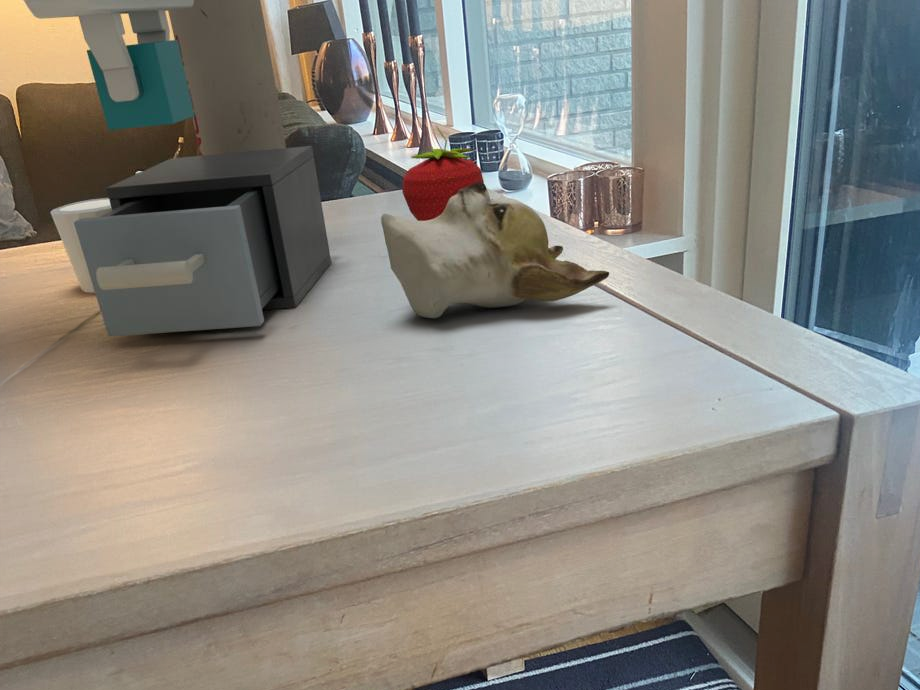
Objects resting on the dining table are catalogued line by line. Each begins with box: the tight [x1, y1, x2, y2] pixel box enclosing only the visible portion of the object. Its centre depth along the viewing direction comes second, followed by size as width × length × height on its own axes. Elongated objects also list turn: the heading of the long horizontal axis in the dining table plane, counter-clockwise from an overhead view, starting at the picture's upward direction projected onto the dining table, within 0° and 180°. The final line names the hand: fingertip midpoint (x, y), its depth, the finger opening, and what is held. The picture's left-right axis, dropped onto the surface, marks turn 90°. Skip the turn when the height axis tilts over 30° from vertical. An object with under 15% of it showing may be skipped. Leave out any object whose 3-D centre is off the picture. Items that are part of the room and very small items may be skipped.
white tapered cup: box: [50, 197, 112, 294], centre depth 84 cm, size 7×7×7 cm
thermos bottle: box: [167, 0, 287, 156], centre depth 86 cm, size 8×8×28 cm
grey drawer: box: [74, 186, 282, 337], centre depth 70 cm, size 18×11×8 cm, turn 176°
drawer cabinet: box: [105, 145, 332, 311], centre depth 79 cm, size 15×13×10 cm
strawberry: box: [401, 125, 485, 221], centre depth 84 cm, size 6×8×10 cm
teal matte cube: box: [86, 39, 195, 131], centre depth 63 cm, size 4×4×4 cm
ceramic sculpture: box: [380, 182, 610, 319], centre depth 68 cm, size 11×9×15 cm
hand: (144, 96), depth 63 cm, fingers closed on teal matte cube, 4 cm apart
